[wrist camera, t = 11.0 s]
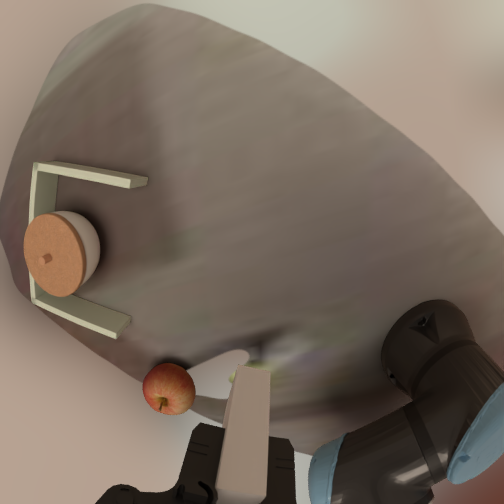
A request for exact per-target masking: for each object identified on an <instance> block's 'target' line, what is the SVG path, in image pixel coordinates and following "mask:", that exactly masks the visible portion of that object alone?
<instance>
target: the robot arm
mask: <svg viewBox="0 0 504 504" xmlns="http://www.w3.org/2000/svg"><path fill="white" fill-rule="evenodd" d="M381 361H382V366H383V368H384V370H385V373H386V375H387V377H388V378H389V380H390V381H391V382H392V383H393V384H394V385H395V386H397V387H398V388H399V389H400V390H402V391H403V392H404V393H406V394H407V395H408V396H410V397H411V398H412V399H413V401H412V402H410V403H408V404H407V405H405V406H403V407H401V408H399V409H398V410H396V411H394V412H392V413H390V414H388V415H386V416H384V417H382V418H380V419H378V420H376V421H374V422H372V423H370V424H368V425H366V426H364V427H362V428H359V429H357V430H355V431H353V432H351V433H345V434H343V435H342V436H341V437H339V438H337V439H335V440H333V441H331V442H329V443H326V444H324V445H322V446H321V447H320V448H318V449H317V450H316V452H315V453H314V455H313V457H312V459H311V462H310V468H309V473H308V487H309V496H310V501H311V504H432V502H433V500H434V498H435V497H434V494H433V492H432V489H431V486H433V485H434V484H436V483H438V482H440V481H442V480H443V479H445V478H447V479H448V481H451V482H452V483H454V484H460V483H464V482H466V481H467V480H468V479H472V478H474V477H476V476H477V475H479V474H480V473H482V472H483V471H484V470H486V469H487V468H488V467H489V466H491V465H492V464H493V463H494V462H495V461H496V460H497V459H498V458H499V457H500V456H501V455H502V454H503V453H504V372H503V371H502V370H501V368H500V367H499V366H498V365H497V364H496V363H495V362H494V361H493V360H492V359H491V358H490V357H489V356H488V355H487V354H486V352H485V351H484V350H483V349H482V348H481V347H480V346H479V345H478V344H477V343H476V341H475V339H474V336H473V333H472V331H471V328H470V326H469V323H468V320H467V318H466V316H465V315H464V314H463V312H462V311H461V310H459V309H458V308H457V307H456V306H455V305H454V304H452V303H450V302H448V301H444V300H432V301H428V302H425V303H422V304H420V305H418V306H416V307H414V308H413V309H411V310H410V311H408V312H407V313H406V314H405V315H403V316H402V317H401V318H400V319H399V320H398V321H397V322H396V324H395V325H394V326H393V327H392V329H391V330H390V332H389V334H388V335H387V337H386V339H385V342H384V345H383V348H382V354H381ZM269 407H270V371H265V370H261V369H256V368H251V367H247V366H243V365H238V367H237V371H236V374H235V378H234V381H233V384H232V388H231V391H230V395H229V398H228V401H227V405H226V410H225V416H224V421H223V426H222V428H221V427H217V426H213V425H209V424H204V423H199V424H198V426H196V427H195V429H194V430H193V431H192V434H191V437H190V441H189V444H188V448H187V451H186V455H185V458H184V461H183V465H182V469H181V472H180V475H179V479H178V481H177V483H176V484H175V486H174V487H173V488H171V489H170V490H168V491H165V492H158V493H155V492H140V491H139V490H137V489H136V488H134V487H132V486H130V485H123V484H120V485H115V486H112V487H111V488H109V489H108V490H107V491H106V492H105V493H104V494H103V495H102V497H101V498H100V499H99V500H98V501H97V502H96V503H95V504H297V503H296V490H295V470H294V469H295V463H294V448H293V447H292V445H291V443H290V441H289V439H284V438H277V437H270V436H269Z"/></svg>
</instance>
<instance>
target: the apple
mask: <svg viewBox="0 0 504 504" xmlns="http://www.w3.org/2000/svg"><path fill="white" fill-rule="evenodd" d="M143 394H144V397H145V399H146V401H147V402H148V404H149V405H150V406H151V407H152V408H153V409H154V410H155V411H157V412H160V413H163V414H167V415H178V414H182V413H184V412H186V411H187V410H188V409H189V408H190V407H191V406H192V404H193V402H194V399H195V385H194V382H193V380H192V378H191V376H190V375H189V374H188V373H187V371H186V370H185V369H184V368H182V367H180V366H178V365H175V364H172V363H164V364H160V365H157V366H155V367H154V368H153V369H152V370H151V371H150V372H149V373H148V374H147V375H146V377H145V379H144V381H143Z"/></svg>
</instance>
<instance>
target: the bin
mask: <svg viewBox="0 0 504 504" xmlns="http://www.w3.org/2000/svg"><path fill="white" fill-rule="evenodd" d="M59 174H60V175H65V176H70V177H75V178H80V179H86V180H91V181H96V182H101V183H105V184H110V185H115V186H120V187H125V188H134V187H140V186H145V185H147V181H148V177H143V176H138V175H133V174H128V173H123V172H118V171H112V170H107V169H101V168H95V167H90V166H84V165H78V164H72V163H66V162H59V161H46V162H34V165H33V173H32V182H31V194H30V208H29V224H30V223H31V221H32V220H33V219H34V218H36V217H37V216H39V215H41V214H45V213H52V212H55V203H56V193H57V184H58V175H59ZM29 273H30V271H29ZM30 288H31V300H32V303H34V304H36V305H38V306H40V307H42V308H44V309H46V310H48V311H50V312H52V313H55V314H57V315H59V316H61V317H63V318H66V319H68V320H70V321H73V322H75V323H77V324H80V325H82V326H84V327H87V328H89V329H92V330H94V331H97V332H99V333H102V334H104V335H107V336H109V337H112V338H115V339H117V338H118V336H119V335H120V334H121V333H122V332H123V331H124V329H125V328H126V327H127V326H128V325H129V323H130V322H131V316H129V315H126V314H123V313H120V312H117V311H114V310H111V309H109V308H106V307H103V306H100V305H98V304H95V303H92V302H90V301H87V300H84V299H82V298H79V297H77V296H74V295H72V294H71V295H69V296H65V297H57V296H54V295H51V294H49V293H47V292H46V291H45V290H43V289H42V288H41V287H40V286H39V285H38V284H37V283H36V281H35V280H34V278H33V277H32V275H31V273H30Z"/></svg>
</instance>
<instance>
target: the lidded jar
mask: <svg viewBox="0 0 504 504" xmlns="http://www.w3.org/2000/svg"><path fill="white" fill-rule="evenodd" d="M24 255H25V260H26V263H27V267H28V269H29V271H30V273H31V275H32V277H33V278H34V280H35V281H36V283H37V284H38V285H39V286H40V287H41V288H42V289H43V290H45V291H46V292H47V293H49V294H51V295H54V296H57V297H65V296H69V295H71V294H72V293H74V292H75V291H76V290H77V289H78V288H79V287H80V286H82V285H83V284H84V283H85V282H86V281H87V280H88V279H89V278H90V277H91V276H92V274H93V273H94V271H95V269H96V267H97V265H98V262H99V258H100V242H99V238H98V235H97V232H96V230H95V229H94V227H93V226H92V224H91V223H90V222H89V221H88V220H87V219H86V218H85V217H83V216H82V215H80V214H77V213H75V212H70V211H57V212H52V213H45V214H41V215H39V216H37V217H36V218H34V219H33V220H32V221H31V223H30V224H29V226H28V228H27V230H26V233H25V238H24Z"/></svg>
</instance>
